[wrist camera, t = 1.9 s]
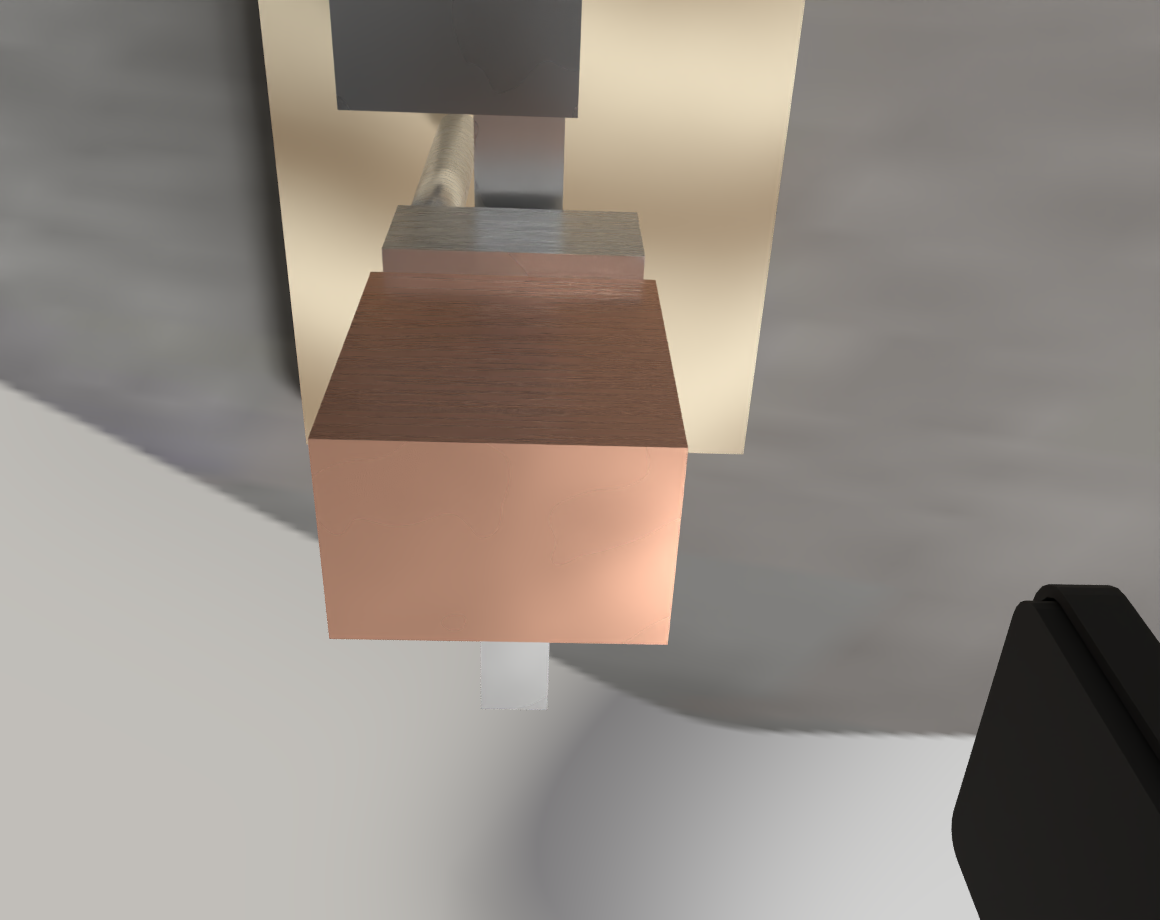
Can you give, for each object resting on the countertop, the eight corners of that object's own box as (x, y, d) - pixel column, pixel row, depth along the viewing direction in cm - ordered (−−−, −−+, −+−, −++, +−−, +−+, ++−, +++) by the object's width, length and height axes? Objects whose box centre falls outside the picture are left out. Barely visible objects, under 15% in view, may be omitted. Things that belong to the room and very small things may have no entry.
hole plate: (254, -212, 21) (233, -211, 20) (814, -187, 22) (831, -184, 20) (317, 414, 29) (305, 446, 27) (735, 424, 29) (743, 456, 28)
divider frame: (411, -152, 20) (320, -106, 12) (575, -145, 20) (586, -96, 13) (434, 457, 27) (385, 731, 19) (556, 460, 27) (555, 734, 20)
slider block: (435, 58, 22) (282, 408, 10) (617, 64, 22) (690, 419, 10) (439, 202, 24) (311, 660, 11) (609, 207, 24) (665, 666, 12)
